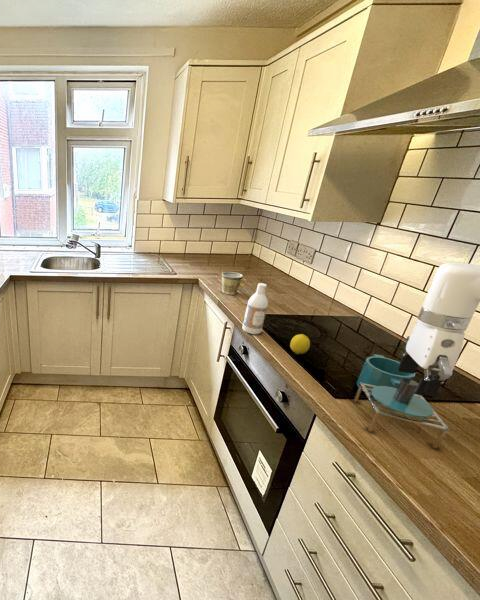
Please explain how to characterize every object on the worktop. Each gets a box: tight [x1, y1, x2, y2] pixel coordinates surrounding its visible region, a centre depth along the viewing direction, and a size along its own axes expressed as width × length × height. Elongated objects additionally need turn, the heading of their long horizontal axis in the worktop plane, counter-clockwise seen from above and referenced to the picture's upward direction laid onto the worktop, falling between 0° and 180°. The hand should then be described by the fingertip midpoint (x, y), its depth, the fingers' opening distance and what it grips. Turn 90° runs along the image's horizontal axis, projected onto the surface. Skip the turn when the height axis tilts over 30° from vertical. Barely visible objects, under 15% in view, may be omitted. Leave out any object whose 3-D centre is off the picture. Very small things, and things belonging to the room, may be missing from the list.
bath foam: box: [241, 282, 269, 335], centre depth 124 cm, size 7×7×20 cm
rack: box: [352, 383, 451, 449], centre depth 80 cm, size 13×13×6 cm
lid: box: [371, 378, 434, 419], centre depth 78 cm, size 11×11×7 cm
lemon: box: [289, 333, 311, 355], centre depth 110 cm, size 6×6×8 cm
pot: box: [356, 353, 416, 397], centre depth 92 cm, size 10×16×8 cm, turn 155°
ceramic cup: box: [221, 271, 248, 296], centre depth 165 cm, size 13×10×10 cm
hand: (414, 382), depth 76 cm, fingers open, 9 cm apart
